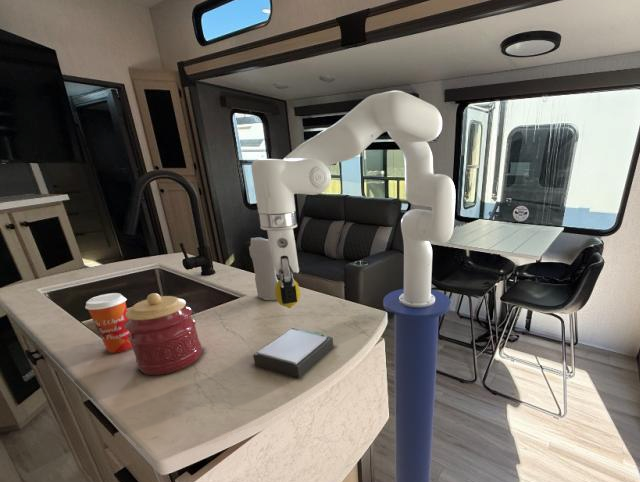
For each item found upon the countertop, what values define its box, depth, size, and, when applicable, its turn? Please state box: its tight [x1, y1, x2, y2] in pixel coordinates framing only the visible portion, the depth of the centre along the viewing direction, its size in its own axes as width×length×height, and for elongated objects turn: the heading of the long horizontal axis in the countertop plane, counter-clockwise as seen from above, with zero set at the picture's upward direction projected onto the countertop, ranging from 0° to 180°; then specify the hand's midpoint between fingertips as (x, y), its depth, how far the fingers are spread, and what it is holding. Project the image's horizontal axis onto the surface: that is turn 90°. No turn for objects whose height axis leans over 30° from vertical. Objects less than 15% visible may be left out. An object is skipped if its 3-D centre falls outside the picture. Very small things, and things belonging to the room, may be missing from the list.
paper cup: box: [85, 292, 133, 354], centre depth 81 cm, size 8×8×14 cm
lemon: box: [275, 279, 301, 309], centre depth 74 cm, size 6×6×8 cm
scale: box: [252, 327, 334, 379], centre depth 79 cm, size 14×13×4 cm
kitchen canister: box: [124, 292, 202, 376], centre depth 75 cm, size 13×13×18 cm
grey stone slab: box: [248, 237, 279, 301], centre depth 110 cm, size 11×4×22 cm, turn 69°
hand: (288, 296), depth 75 cm, fingers closed on lemon, 5 cm apart
